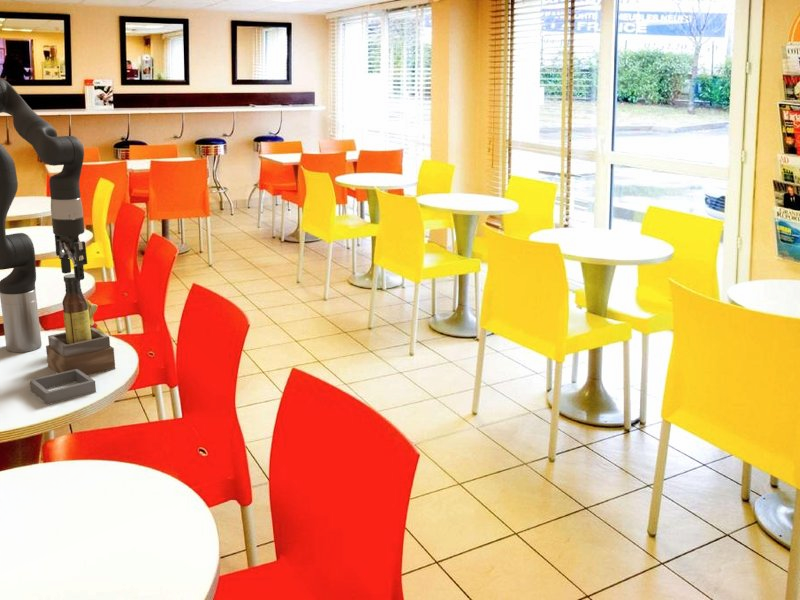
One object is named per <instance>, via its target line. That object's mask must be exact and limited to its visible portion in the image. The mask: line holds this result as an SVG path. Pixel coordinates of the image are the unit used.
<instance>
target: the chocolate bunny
mask: <svg viewBox="0 0 800 600" xmlns="http://www.w3.org/2000/svg"><path fill="white" fill-rule="evenodd" d="M85 300H86V302H87V305H88V311H89V320H90V327H93V328H95V329H97V330H98V331H100V332H102V333H103V334H105V335H107V334H106V332H105V330H104V329H102V328H101V327H100V326H99V325H98V324H97V323H96V322H95V321H94V315H95V313H96V312H97V311H98V305H97V304H95V303H92V302H91V301H90V300H89V299H87V298H85Z"/></svg>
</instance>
